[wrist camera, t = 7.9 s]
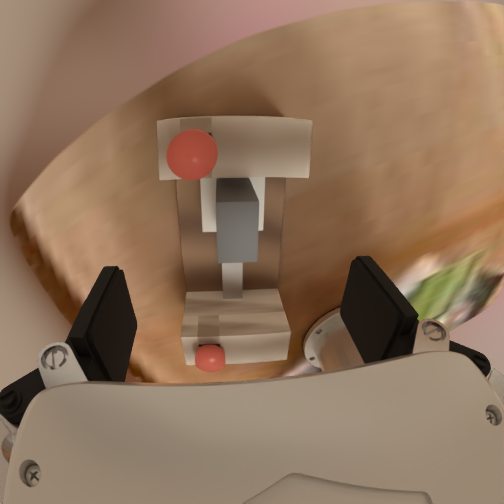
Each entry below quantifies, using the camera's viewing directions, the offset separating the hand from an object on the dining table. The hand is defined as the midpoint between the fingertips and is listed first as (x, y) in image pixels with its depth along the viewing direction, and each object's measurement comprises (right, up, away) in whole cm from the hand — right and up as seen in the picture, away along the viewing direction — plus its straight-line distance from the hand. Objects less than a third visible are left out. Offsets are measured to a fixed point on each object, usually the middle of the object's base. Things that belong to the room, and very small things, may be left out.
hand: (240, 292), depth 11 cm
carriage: (-1, +7, +14) cm, 16 cm away
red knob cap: (-4, -7, +16) cm, 18 cm away
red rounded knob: (-3, +8, +6) cm, 11 cm away
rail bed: (-2, +4, +18) cm, 18 cm away
